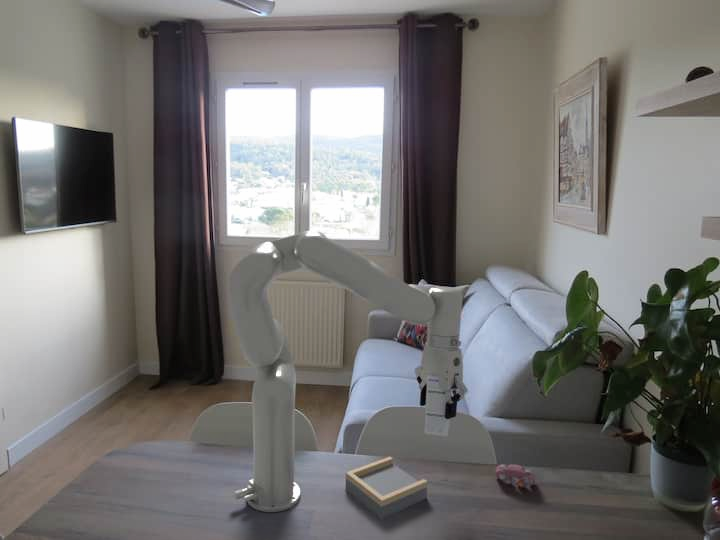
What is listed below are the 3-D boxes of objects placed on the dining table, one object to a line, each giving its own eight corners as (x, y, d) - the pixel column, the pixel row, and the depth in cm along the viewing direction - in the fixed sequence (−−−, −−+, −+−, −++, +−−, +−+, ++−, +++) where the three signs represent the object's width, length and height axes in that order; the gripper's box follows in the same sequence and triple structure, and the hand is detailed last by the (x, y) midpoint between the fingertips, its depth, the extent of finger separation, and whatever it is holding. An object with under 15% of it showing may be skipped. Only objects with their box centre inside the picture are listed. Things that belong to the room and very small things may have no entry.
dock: (381, 518, 117) (382, 500, 116) (345, 489, 128) (345, 472, 127) (426, 498, 125) (427, 481, 124) (389, 472, 136) (389, 456, 135)
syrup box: (448, 437, 122) (453, 378, 119) (422, 433, 123) (427, 375, 121) (448, 426, 127) (453, 370, 125) (424, 423, 128) (429, 367, 126)
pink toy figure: (493, 487, 133) (494, 470, 129) (495, 472, 137) (496, 455, 133) (534, 495, 130) (536, 479, 126) (535, 480, 134) (537, 463, 130)
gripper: (482, 347, 117) (476, 421, 120) (428, 329, 131) (423, 395, 133) (459, 352, 113) (453, 428, 115) (406, 333, 126) (401, 401, 129)
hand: (437, 410), depth 124 cm, fingers closed on syrup box, 7 cm apart
